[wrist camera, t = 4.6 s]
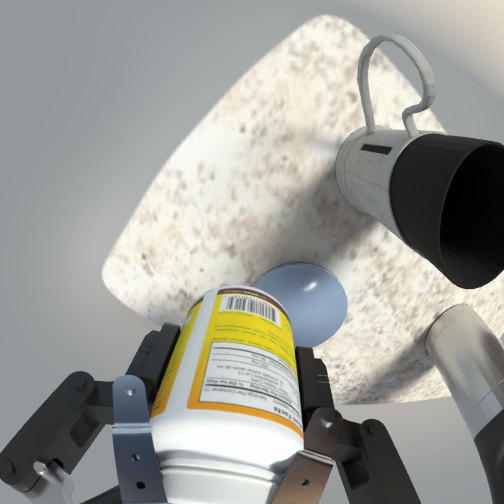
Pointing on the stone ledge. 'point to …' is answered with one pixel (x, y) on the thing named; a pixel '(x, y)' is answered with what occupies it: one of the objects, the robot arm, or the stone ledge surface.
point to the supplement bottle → (229, 401)
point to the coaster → (307, 300)
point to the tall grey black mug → (427, 183)
